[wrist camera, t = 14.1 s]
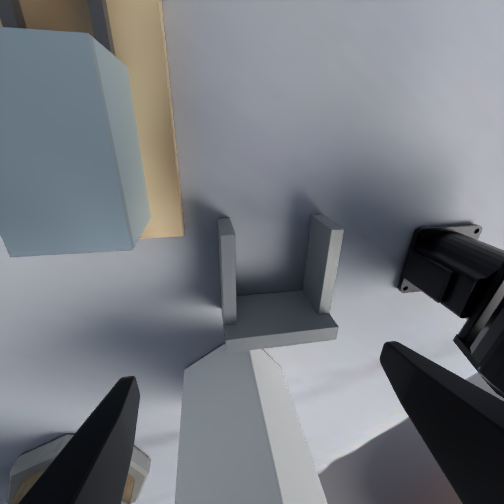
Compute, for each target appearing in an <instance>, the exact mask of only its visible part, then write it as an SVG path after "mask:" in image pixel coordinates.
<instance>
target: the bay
mask: <svg viewBox="0 0 504 504" xmlns="http://www.w3.org/2000/svg"><path fill="white" fill-rule="evenodd" d="M217 219H218V242H219V265H220V287H221V309H222V318H223V327H224V336H225V344H226V353H233V352H241V351H248V350H256V349H264V348H272V347H280V346H288V345H296V344H304V343H312V342H320V341H328V340H335V339H336V337H337V332H338V325H337V324H336V323H335V321H334V320H333V318H332V317H331V315H330V308H331V302H332V297H333V291H334V285H335V280H336V274H337V268H338V263H339V257H340V251H341V246H342V240H343V235H344V229H343V228H342V227H340V226H339V225H337V224H336V223H334V222H333V221H332V220H330V219H329V218H327V217H326V216H324V215H323V214H314V215H311V224H310V232H309V241H308V249H307V258H306V267H305V275H304V284H303V290H298V291H287V292H276V293H265V294H254V295H243V296H236V251H235V233H234V230H233V226H232V223H231V220H230V218H217Z"/></svg>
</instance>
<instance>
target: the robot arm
mask: <svg viewBox="0 0 504 504" xmlns="http://www.w3.org/2000/svg"><path fill="white" fill-rule="evenodd" d="M481 230H482V227H481V226H479V225H476V224H471V225H452V226H433V227H419V228H417V229H416V230H415V232H414V235H413V238H412V242H411V245H410V248H409V252H408V255H407V258H406V262H405V265H404V268H403V271H402V275H401V278H400V281H399V285H398V290H399V291H401V292H402V293H408V292H418V291H422V292H424V293H425V294H426V295H428V296H429V297H430V298H432V299H433V300H434V301H436V302H438V303H441V304H442V305H444V306H445V307H446V308H448V309H449V310H450V311H452V312H453V313H455V314H456V315H457V316H459V317H460V318H466V319H467V321H466V323H465V324H464V326H463V328H462V329H461V331H460V332H459V334H457V335H456V336H455V338H454V339H453V341H454V342H455V344H456V345H457V346H458V347H459V349H460V350H461V351H462V352H463V354H464V355H465V356H466V357H467V359H468V360H469V361H470V362H471V364H472V365H473V366H474V367H475V369H476V370H477V371H478V373H479V374H480V375H481V376H482V378H483V379H484V380H485V381H486V382H487V384H488V385H489V386H490V387H491V388H492V389H493V390H494V391H495V392H496V393H497V394H498V395H500V396H502V397H503V398H504V250H501V249H499V248H496V247H494V246H491V245H489V244H486V243H484V242H481V241H479V240H478V238H479V235H480V233H481ZM421 232H422V233H421ZM380 363H381V365H382V367H383V369H384V371H385V373H386V375H387V377H388V379H389V381H390V383H391V385H392V387H393V389H394V391H395V393H396V395H397V397H398V399H399V401H400V403H401V404H402V406H403V408H404V410H405V411H406V413H407V414H408V416H409V418H410V419H411V421H412V423H413V424H414V426H415V427H416V429H417V430H418V432H419V434H420V435H421V437H422V439H423V440H424V442H425V444H426V445H427V447H428V448H429V450H430V452H431V453H432V455H433V456H434V458H435V460H436V461H437V463H438V465H439V466H440V468H441V469H442V471H443V473H444V474H445V476H446V478H447V479H448V481H449V482H450V484H451V486H452V487H453V489H454V491H455V492H456V494H457V495H458V497H459V499H460V500H461V502H462V503H463V504H504V401H502V400H500V399H498V398H497V397H495V396H493V395H491V394H490V393H488V392H486V391H484V390H482V389H481V388H479V387H477V386H475V385H474V384H472V383H470V382H468V381H466V380H465V379H463V378H461V377H459V376H458V375H456V374H454V373H452V372H450V371H449V370H447V369H445V368H443V367H442V366H440V365H438V364H436V363H434V362H433V361H431V360H429V359H427V358H425V357H424V356H422V355H420V354H418V353H417V352H415V351H413V350H411V349H409V348H408V347H406V346H404V345H402V344H401V343H399V342H396V341H391V342H386V343H385V344H384V346H383V349H382V352H381V355H380ZM139 400H140V393H139V389H138V385H137V381H136V378H135V377H134V376H128V377H122V378H121V379H119V381H118V382H117V383H116V384H115V385H114V387H113V388H112V389H111V390H110V392H109V393H108V394H107V395H106V396H105V398H104V399H103V400H102V401H101V403H100V404H99V405H98V406H97V407H96V409H95V410H94V411H93V412H92V413H91V415H90V416H89V417H88V418H87V420H86V421H85V422H84V423H83V424H82V426H81V427H80V428H79V429H78V431H77V432H76V433H75V434H74V435H73V437H72V438H71V439H70V440H69V442H68V443H67V444H66V445H65V446H64V448H63V449H62V450H61V451H60V452H59V454H58V455H57V456H56V457H55V459H54V460H53V461H52V462H51V463H50V465H49V466H48V467H47V468H46V470H45V471H44V472H43V473H42V474H41V476H40V477H39V478H38V479H37V480H36V482H35V483H34V484H33V485H32V487H31V488H30V489H29V490H28V491H27V493H26V494H25V495H24V496H23V498H22V499H21V500H20V501H19V502H18V504H121V501H122V497H123V493H124V488H125V484H126V480H127V475H128V471H129V467H130V463H131V458H132V453H133V446H134V439H135V431H136V424H137V416H138V408H139Z"/></svg>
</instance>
